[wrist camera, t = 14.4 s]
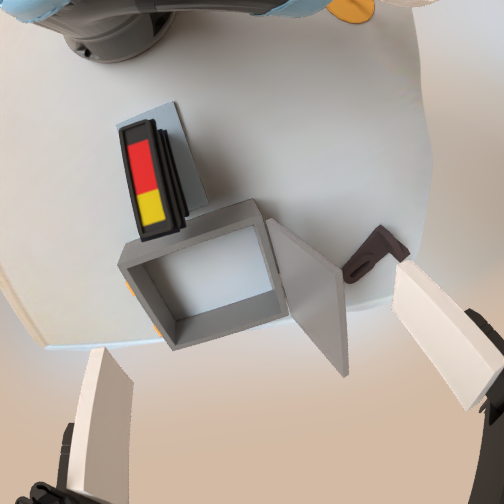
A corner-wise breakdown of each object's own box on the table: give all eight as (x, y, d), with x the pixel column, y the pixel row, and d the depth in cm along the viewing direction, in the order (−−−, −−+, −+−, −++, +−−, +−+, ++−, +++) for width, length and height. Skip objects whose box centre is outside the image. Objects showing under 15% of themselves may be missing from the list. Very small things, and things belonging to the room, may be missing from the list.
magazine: (169, 237, 39) (137, 243, 25) (149, 148, 38) (112, 111, 23) (195, 230, 40) (176, 232, 25) (174, 141, 38) (148, 98, 23)
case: (122, 245, 41) (96, 313, 28) (282, 188, 41) (325, 236, 28) (170, 327, 50) (169, 399, 37) (304, 283, 51) (339, 347, 38)
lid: (334, 274, 24) (345, 268, 24) (265, 220, 36) (273, 216, 36) (343, 377, 33) (350, 373, 33) (291, 316, 45) (298, 312, 45)
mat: (116, 124, 32) (115, 125, 32) (173, 101, 33) (172, 101, 32) (156, 221, 40) (156, 223, 40) (208, 202, 40) (209, 204, 40)
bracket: (331, 263, 50) (343, 279, 46) (384, 219, 48) (400, 232, 43) (345, 282, 53) (357, 298, 49) (395, 240, 51) (410, 253, 46)
